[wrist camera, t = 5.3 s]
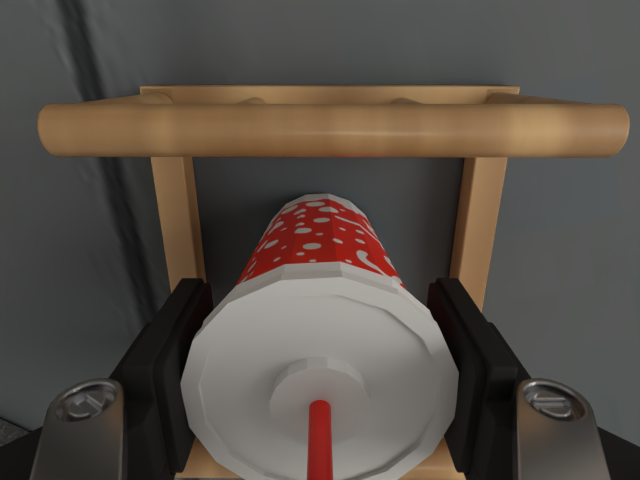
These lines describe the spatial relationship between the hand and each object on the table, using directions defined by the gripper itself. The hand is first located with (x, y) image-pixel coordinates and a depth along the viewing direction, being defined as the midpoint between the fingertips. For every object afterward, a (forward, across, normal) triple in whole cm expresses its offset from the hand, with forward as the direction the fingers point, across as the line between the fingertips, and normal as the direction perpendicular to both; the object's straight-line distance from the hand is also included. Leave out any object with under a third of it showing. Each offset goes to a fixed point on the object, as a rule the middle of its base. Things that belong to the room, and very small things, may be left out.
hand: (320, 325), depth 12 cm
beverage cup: (+6, 0, 0) cm, 6 cm away
